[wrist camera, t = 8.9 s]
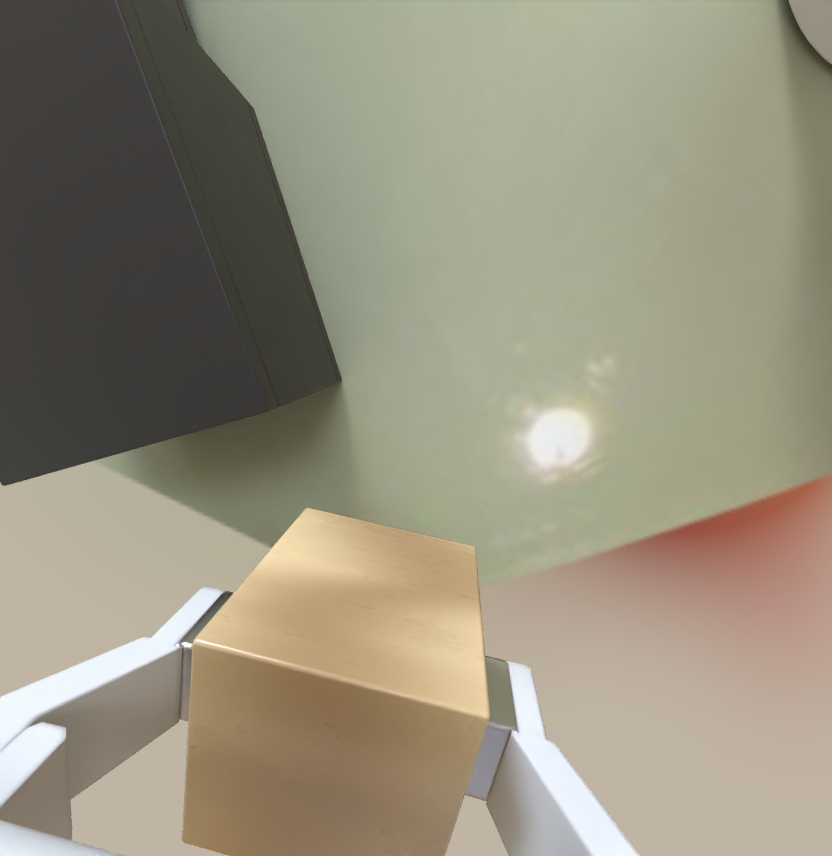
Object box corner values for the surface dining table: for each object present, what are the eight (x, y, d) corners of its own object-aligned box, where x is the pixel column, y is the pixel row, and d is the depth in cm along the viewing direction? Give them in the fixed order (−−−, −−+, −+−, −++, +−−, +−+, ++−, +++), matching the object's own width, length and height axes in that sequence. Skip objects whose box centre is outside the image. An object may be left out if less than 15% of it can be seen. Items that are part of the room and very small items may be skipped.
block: (476, 545, 10) (491, 717, 5) (439, 682, 11) (427, 914, 7) (305, 506, 10) (190, 639, 6) (287, 644, 11) (180, 843, 7)
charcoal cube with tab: (65, 185, 23) (-222, 74, 13) (253, 107, 22) (83, -89, 12) (170, 429, 27) (1, 486, 17) (342, 380, 25) (269, 411, 15)
